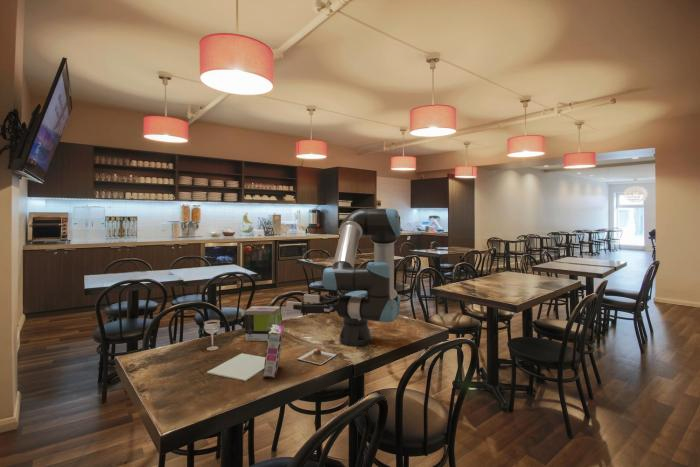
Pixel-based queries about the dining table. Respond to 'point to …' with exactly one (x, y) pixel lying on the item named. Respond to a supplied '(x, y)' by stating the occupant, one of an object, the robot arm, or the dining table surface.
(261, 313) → the tea box
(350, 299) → the robot arm
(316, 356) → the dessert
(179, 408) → the dining table surface
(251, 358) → the mat
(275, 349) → the candy bar box
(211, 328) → the wineglass
